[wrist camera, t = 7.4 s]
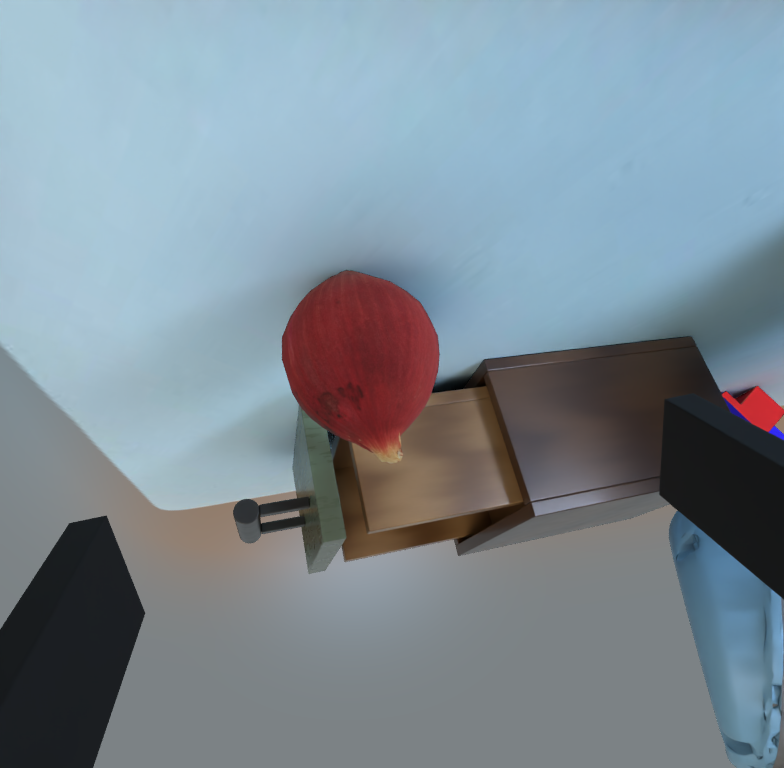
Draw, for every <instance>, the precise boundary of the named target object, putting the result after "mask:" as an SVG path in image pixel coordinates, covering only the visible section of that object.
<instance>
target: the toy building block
mask: <svg viewBox="0 0 784 768" xmlns="http://www.w3.org/2000/svg"><path fill="white" fill-rule="evenodd" d="M722 396H723V398H724V400H725V402H726V404H727V406H728V408H729V410H730V412H731V413H732V414H734V415H736V416H738V417H740V418H742V419H744V420H746V421H748V422H750V423H752V424H754V425H756V426H757V427H759V428H761V429H763V430H765V431H767V432H769V433H771V434H773V435H775V436H777V437H779V438H781V439H783V440H784V434H783V433H782V432H781V431H780V430H778V428H776V427H775V424H776V423H777V422H778V421H779V420H780V419H781V417H782V416H783V415H784V410H783V409H782V408H781V407H780V406H779V405H778V404H777V403H776V402H775V401H774V400H773V399H771V398H770V397H769V396H768V395H767V394H766V393H765V392H764V391H763V390H762V389H760V388H759V387H758V386H756V387H755V388H753V389H751V390H749V391H747V392H746V393H744V394H742V395H740V396H739V397H737V398H735V399H734V398H733V397H732V396H731V395H730V394H729V393H728V392H727V391H725V392H724V393H722Z"/></svg>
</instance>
